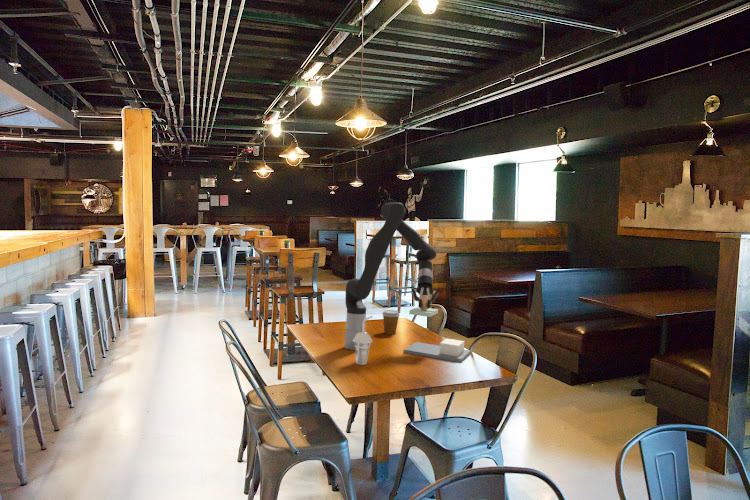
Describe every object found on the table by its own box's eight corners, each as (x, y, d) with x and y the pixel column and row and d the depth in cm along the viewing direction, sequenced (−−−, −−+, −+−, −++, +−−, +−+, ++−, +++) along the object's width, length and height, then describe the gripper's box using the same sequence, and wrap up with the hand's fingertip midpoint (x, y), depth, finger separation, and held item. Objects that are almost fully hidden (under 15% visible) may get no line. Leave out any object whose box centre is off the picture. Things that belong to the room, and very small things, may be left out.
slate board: (461, 362, 226) (461, 359, 225) (403, 352, 237) (403, 349, 237) (470, 353, 242) (470, 350, 242) (416, 344, 253) (416, 341, 253)
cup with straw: (348, 361, 218) (351, 315, 217) (367, 359, 222) (370, 315, 220) (355, 366, 210) (358, 319, 209) (375, 365, 214) (377, 319, 213)
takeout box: (457, 356, 230) (458, 345, 229) (439, 353, 233) (440, 342, 233) (463, 351, 240) (464, 341, 239) (445, 348, 243) (446, 338, 243)
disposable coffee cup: (389, 330, 283) (390, 309, 282) (402, 333, 276) (403, 312, 276) (377, 332, 276) (378, 311, 276) (390, 335, 270) (391, 314, 269)
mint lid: (430, 316, 234) (431, 298, 233) (409, 314, 238) (410, 295, 237) (437, 312, 245) (439, 295, 245) (417, 310, 249) (418, 292, 249)
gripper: (411, 273, 248) (410, 302, 237) (439, 275, 247) (439, 304, 236) (410, 283, 254) (409, 311, 243) (438, 284, 253) (438, 313, 242)
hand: (424, 307), depth 239 cm, fingers closed on mint lid, 3 cm apart
